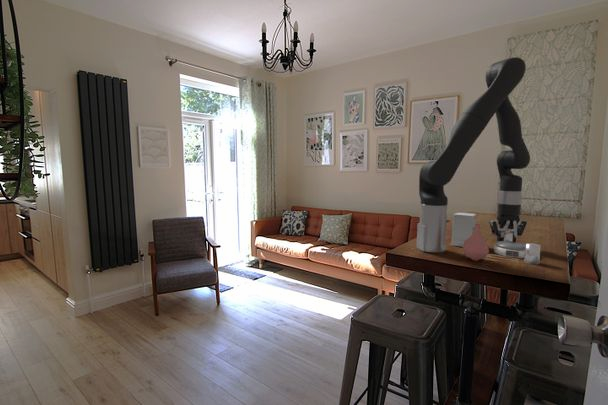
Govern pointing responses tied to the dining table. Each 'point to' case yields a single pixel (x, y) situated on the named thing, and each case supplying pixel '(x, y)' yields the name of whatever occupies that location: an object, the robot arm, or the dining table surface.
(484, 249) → the pink rounded bulb
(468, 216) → the supplement box
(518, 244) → the scale
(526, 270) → the dining table surface
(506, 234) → the steel spacer
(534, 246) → the steel spacer
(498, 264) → the dining table surface
